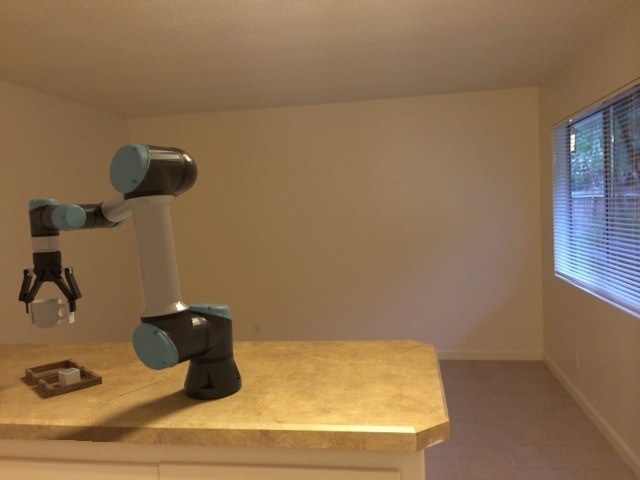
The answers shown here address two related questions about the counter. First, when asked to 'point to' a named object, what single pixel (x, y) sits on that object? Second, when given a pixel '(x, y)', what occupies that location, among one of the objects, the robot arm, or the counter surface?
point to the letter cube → (69, 376)
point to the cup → (48, 312)
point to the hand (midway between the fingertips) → (52, 323)
